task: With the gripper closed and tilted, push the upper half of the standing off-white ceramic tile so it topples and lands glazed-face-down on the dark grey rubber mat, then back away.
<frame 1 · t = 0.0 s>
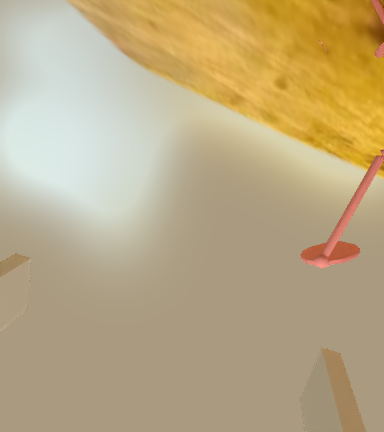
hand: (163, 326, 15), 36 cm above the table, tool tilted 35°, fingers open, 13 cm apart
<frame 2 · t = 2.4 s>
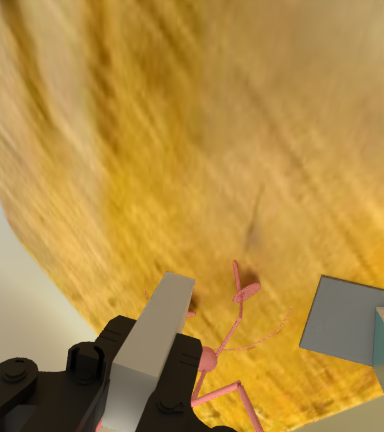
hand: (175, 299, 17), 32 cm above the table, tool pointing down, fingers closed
mat: (355, 322, 49), on the table
figurine: (224, 308, 53), on the table
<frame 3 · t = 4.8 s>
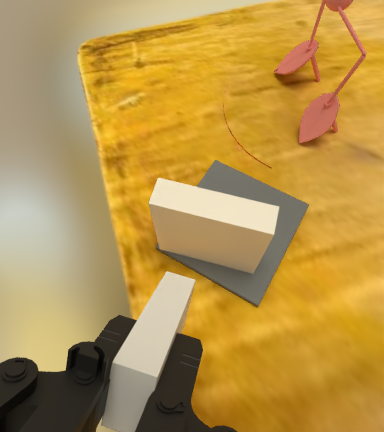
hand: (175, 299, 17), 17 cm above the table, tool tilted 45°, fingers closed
tile: (208, 250, 36), point 1 cm above the table, touching mat
mat: (234, 227, 38), on the table
figurine: (276, 108, 46), on the table
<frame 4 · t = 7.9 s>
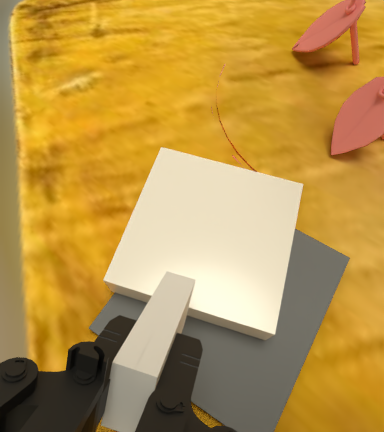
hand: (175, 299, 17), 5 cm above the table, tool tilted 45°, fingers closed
tile: (186, 311, 20), point 2 cm above the table, tilted 90°, touching mat
mat: (225, 293, 23), on the table
figurine: (295, 101, 31), on the table
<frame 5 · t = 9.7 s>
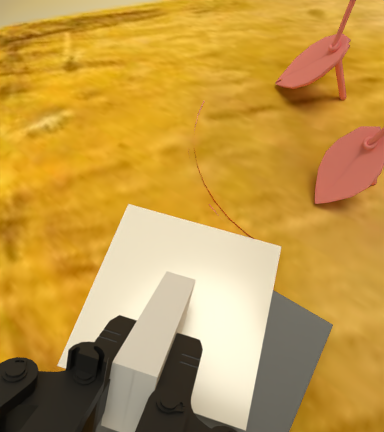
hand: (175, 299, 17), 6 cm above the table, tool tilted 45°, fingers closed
tile: (150, 396, 18), point 2 cm above the table, tilted 90°, touching mat
mat: (197, 366, 21), on the table
figurine: (277, 141, 29), on the table
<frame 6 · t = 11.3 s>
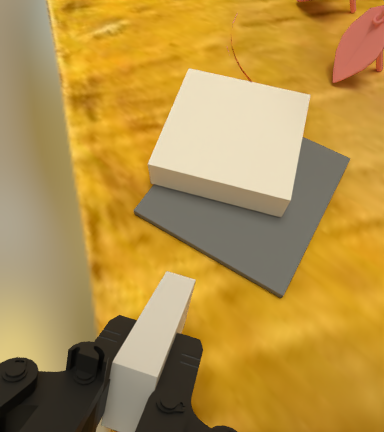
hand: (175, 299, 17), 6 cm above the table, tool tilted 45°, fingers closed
tile: (216, 191, 24), point 2 cm above the table, tilted 90°, touching mat
mat: (245, 187, 27), on the table
figurine: (300, 42, 35), on the table
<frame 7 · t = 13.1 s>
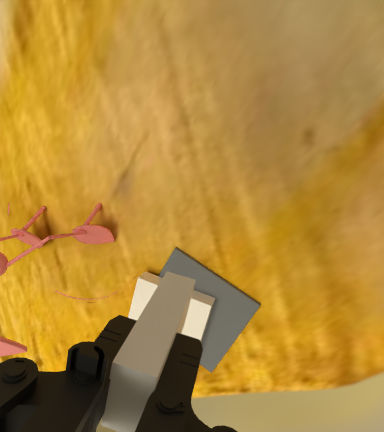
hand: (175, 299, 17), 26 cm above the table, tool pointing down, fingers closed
tile: (202, 335, 44), point 2 cm above the table, tilted 90°, touching mat
mat: (194, 309, 46), on the table
figurine: (78, 251, 50), on the table
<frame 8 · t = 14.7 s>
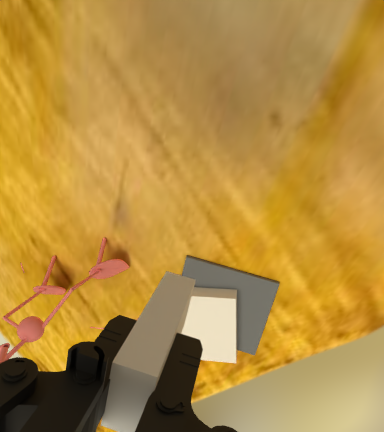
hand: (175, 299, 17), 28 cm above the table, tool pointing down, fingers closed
tile: (236, 326, 47), point 2 cm above the table, tilted 90°, touching mat
mat: (221, 305, 49), on the table
figurine: (99, 286, 52), on the table
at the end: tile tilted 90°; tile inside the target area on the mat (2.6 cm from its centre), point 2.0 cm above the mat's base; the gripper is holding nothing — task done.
